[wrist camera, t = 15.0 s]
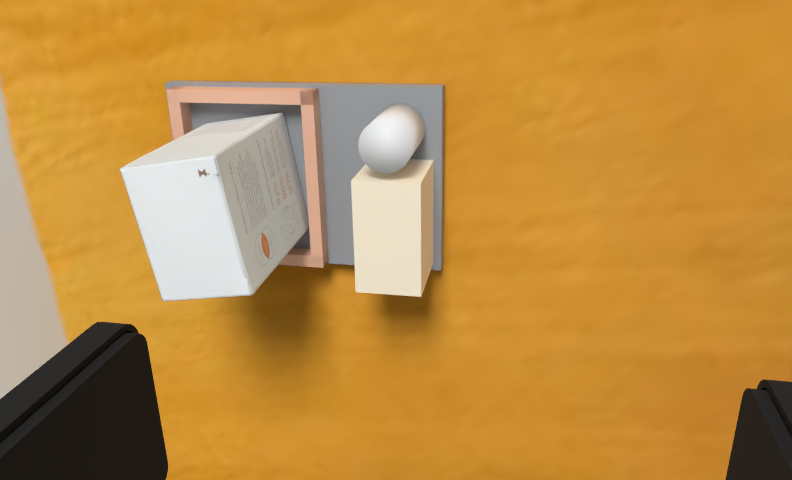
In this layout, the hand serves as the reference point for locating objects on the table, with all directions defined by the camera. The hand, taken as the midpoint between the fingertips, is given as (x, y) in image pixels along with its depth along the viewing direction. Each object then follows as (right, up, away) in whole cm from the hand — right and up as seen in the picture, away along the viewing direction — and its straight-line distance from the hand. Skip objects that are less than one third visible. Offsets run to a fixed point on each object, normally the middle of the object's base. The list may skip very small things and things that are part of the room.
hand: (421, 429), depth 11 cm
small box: (-9, +7, +35) cm, 37 cm away
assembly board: (-6, +7, +35) cm, 36 cm away
